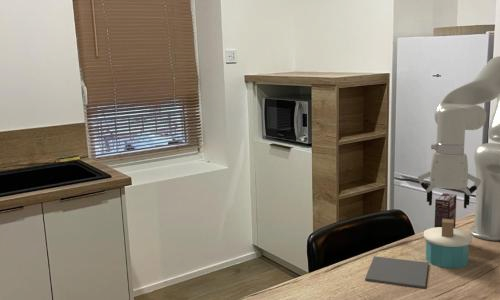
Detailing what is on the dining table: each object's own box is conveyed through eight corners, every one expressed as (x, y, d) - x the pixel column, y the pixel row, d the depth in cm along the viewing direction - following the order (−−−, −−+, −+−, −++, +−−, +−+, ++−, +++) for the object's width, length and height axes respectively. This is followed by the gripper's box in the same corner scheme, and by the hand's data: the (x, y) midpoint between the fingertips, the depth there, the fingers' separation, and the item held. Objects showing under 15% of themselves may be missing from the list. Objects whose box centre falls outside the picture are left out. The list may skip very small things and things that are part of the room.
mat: (374, 258, 152) (374, 256, 152) (428, 264, 146) (428, 262, 146) (365, 280, 138) (365, 278, 138) (424, 288, 132) (424, 286, 132)
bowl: (427, 250, 156) (427, 229, 155) (467, 254, 152) (468, 233, 150) (424, 265, 146) (425, 243, 144) (468, 270, 141) (469, 247, 140)
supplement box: (448, 248, 157) (449, 201, 154) (433, 245, 160) (434, 199, 157) (455, 239, 164) (457, 194, 161) (440, 237, 166) (442, 192, 163)
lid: (425, 231, 156) (425, 212, 155) (471, 235, 151) (472, 215, 150) (422, 247, 144) (422, 226, 143) (472, 252, 139) (473, 230, 137)
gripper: (417, 150, 142) (415, 206, 145) (483, 152, 135) (480, 212, 138) (419, 145, 149) (417, 199, 152) (482, 148, 142) (479, 204, 145)
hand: (447, 205), depth 145 cm, fingers open, 9 cm apart
